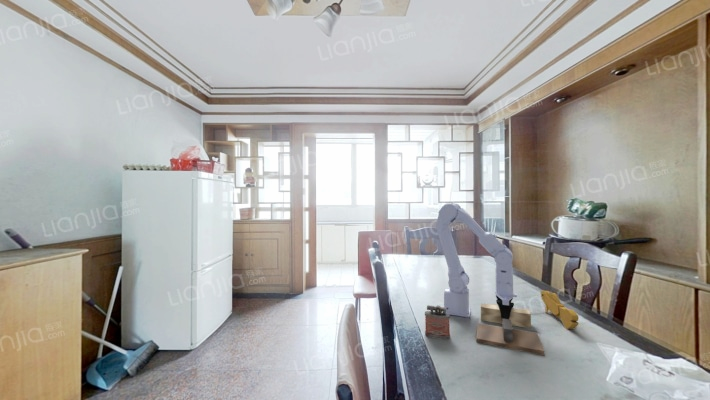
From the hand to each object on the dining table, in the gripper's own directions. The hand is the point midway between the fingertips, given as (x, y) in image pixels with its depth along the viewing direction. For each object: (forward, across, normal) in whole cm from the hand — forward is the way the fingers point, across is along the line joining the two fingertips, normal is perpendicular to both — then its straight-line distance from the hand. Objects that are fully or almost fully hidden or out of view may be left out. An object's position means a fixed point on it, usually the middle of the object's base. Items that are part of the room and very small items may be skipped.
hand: (504, 317), depth 101 cm
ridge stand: (+1, -14, 0) cm, 14 cm away
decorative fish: (+2, +10, -18) cm, 21 cm away
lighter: (+2, -21, +21) cm, 30 cm away
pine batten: (+2, 0, 0) cm, 2 cm away
